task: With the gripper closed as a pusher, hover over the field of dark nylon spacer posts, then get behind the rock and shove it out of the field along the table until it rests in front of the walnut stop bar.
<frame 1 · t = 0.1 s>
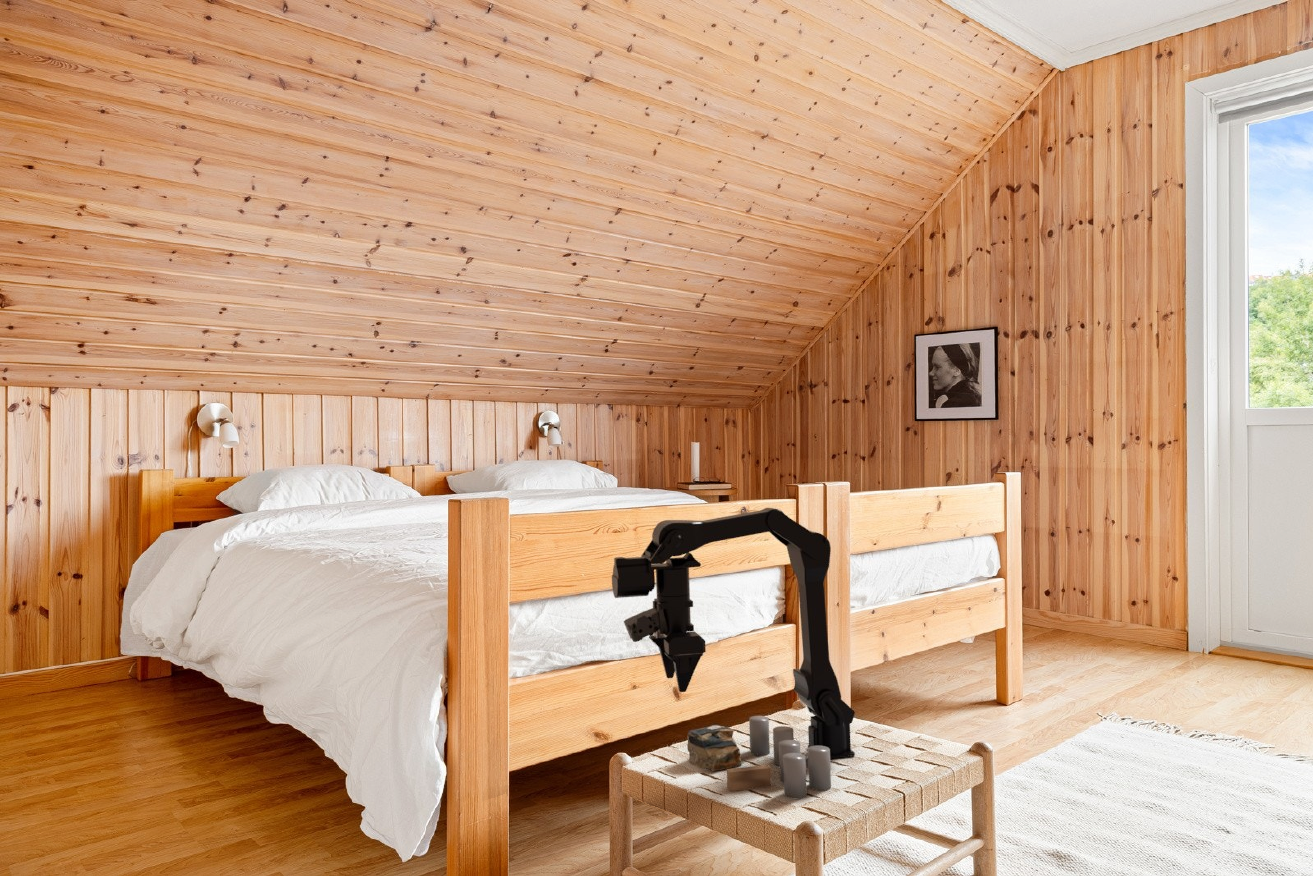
hand: (676, 684, 154), 15 cm above the table, fingers open, 9 cm apart
spacers: (831, 752, 160), on the table
stop bar: (749, 787, 145), on the table
rock: (715, 763, 157), on the table
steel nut: (816, 765, 155), on the table
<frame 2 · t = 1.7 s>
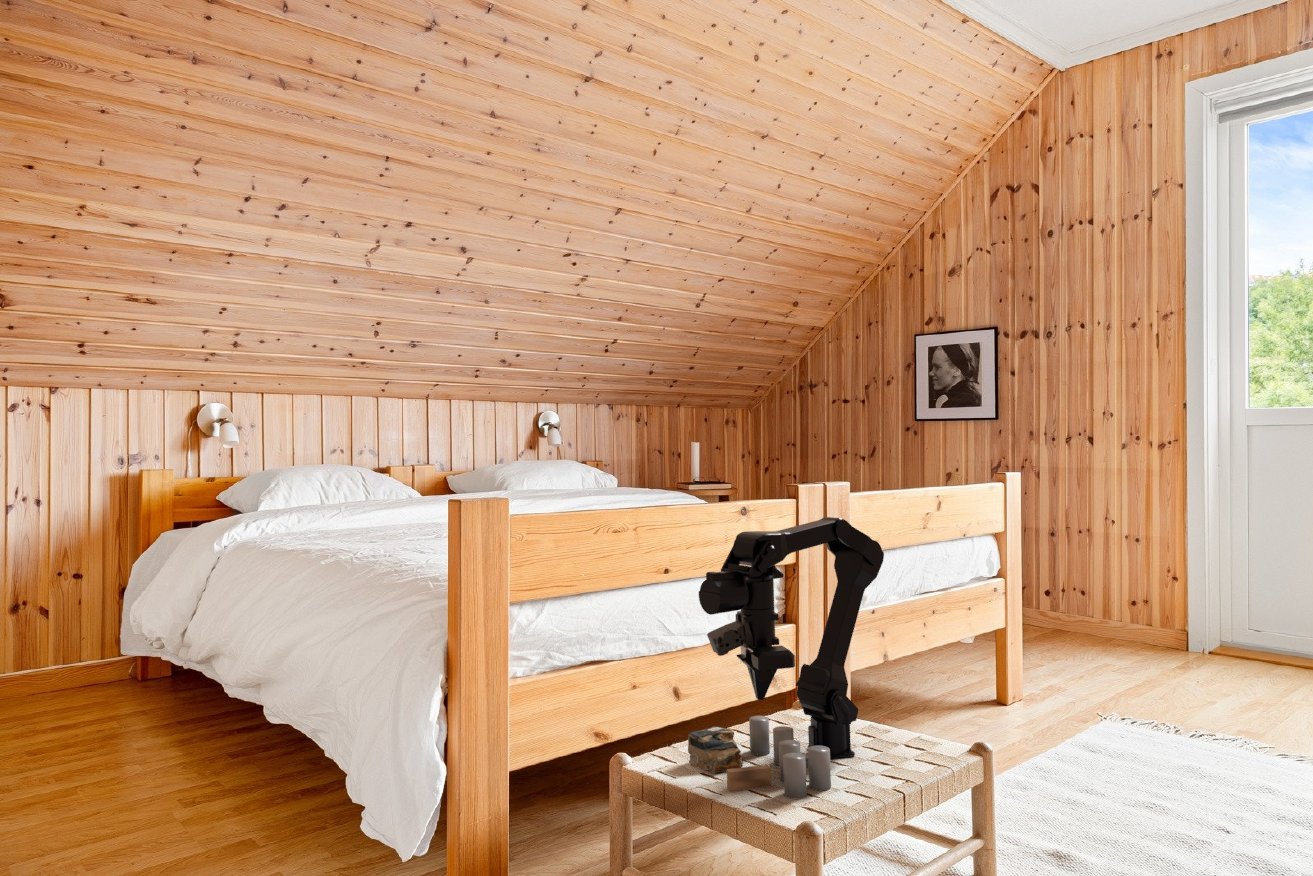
hand: (760, 699, 151), 13 cm above the table, fingers closed
nothing on the table moved.
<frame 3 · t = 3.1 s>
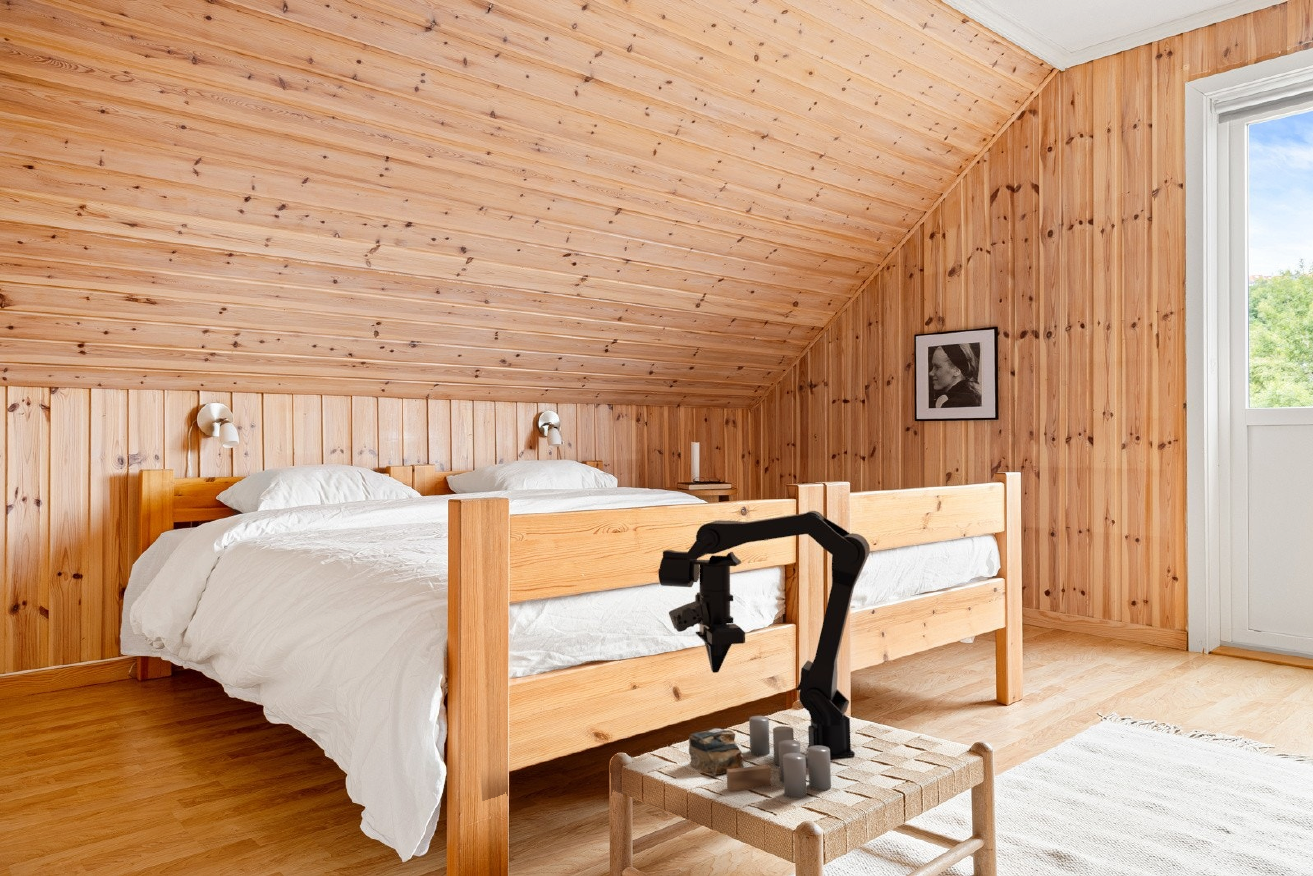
hand: (715, 672, 167), 13 cm above the table, fingers closed
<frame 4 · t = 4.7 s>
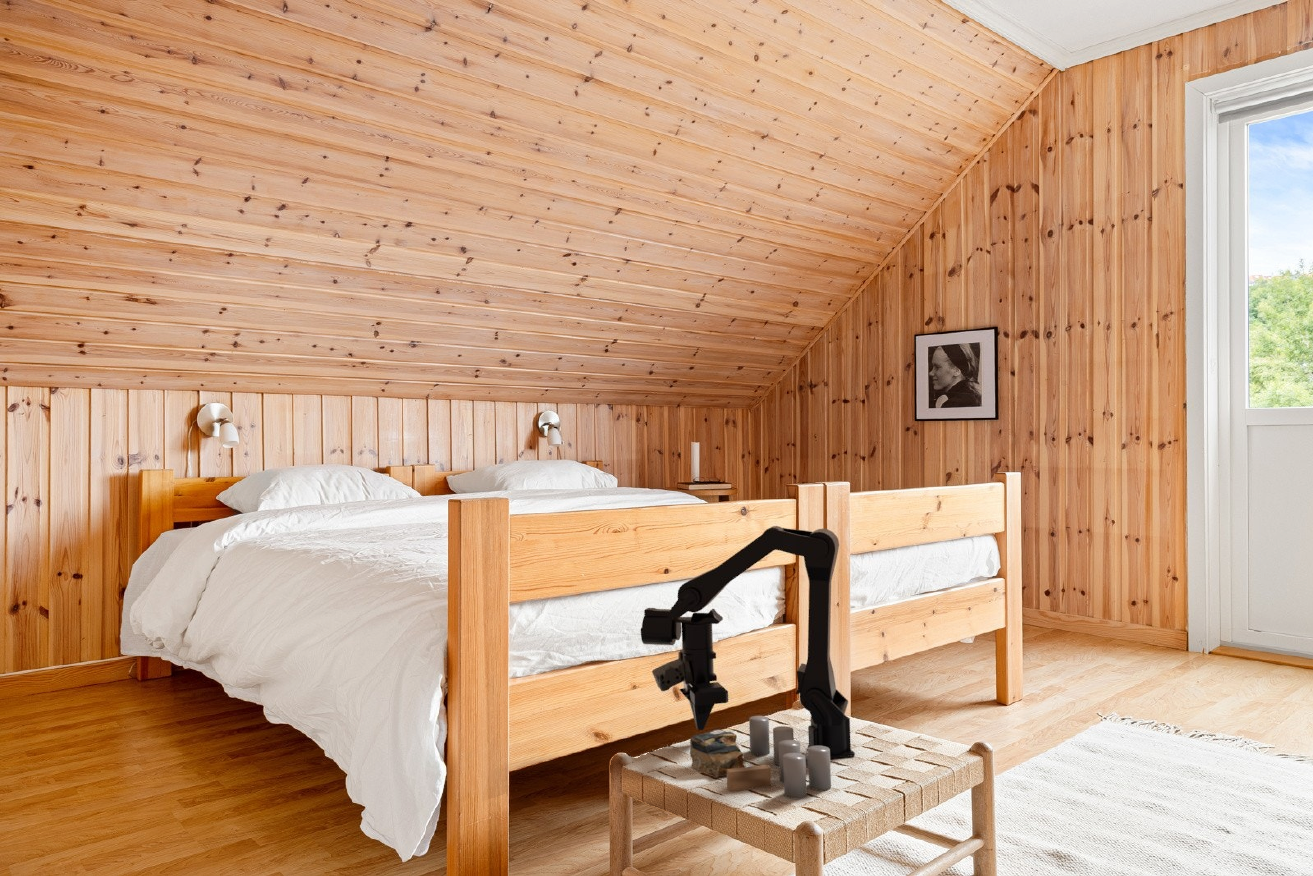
hand: (700, 729, 167), 2 cm above the table, fingers closed
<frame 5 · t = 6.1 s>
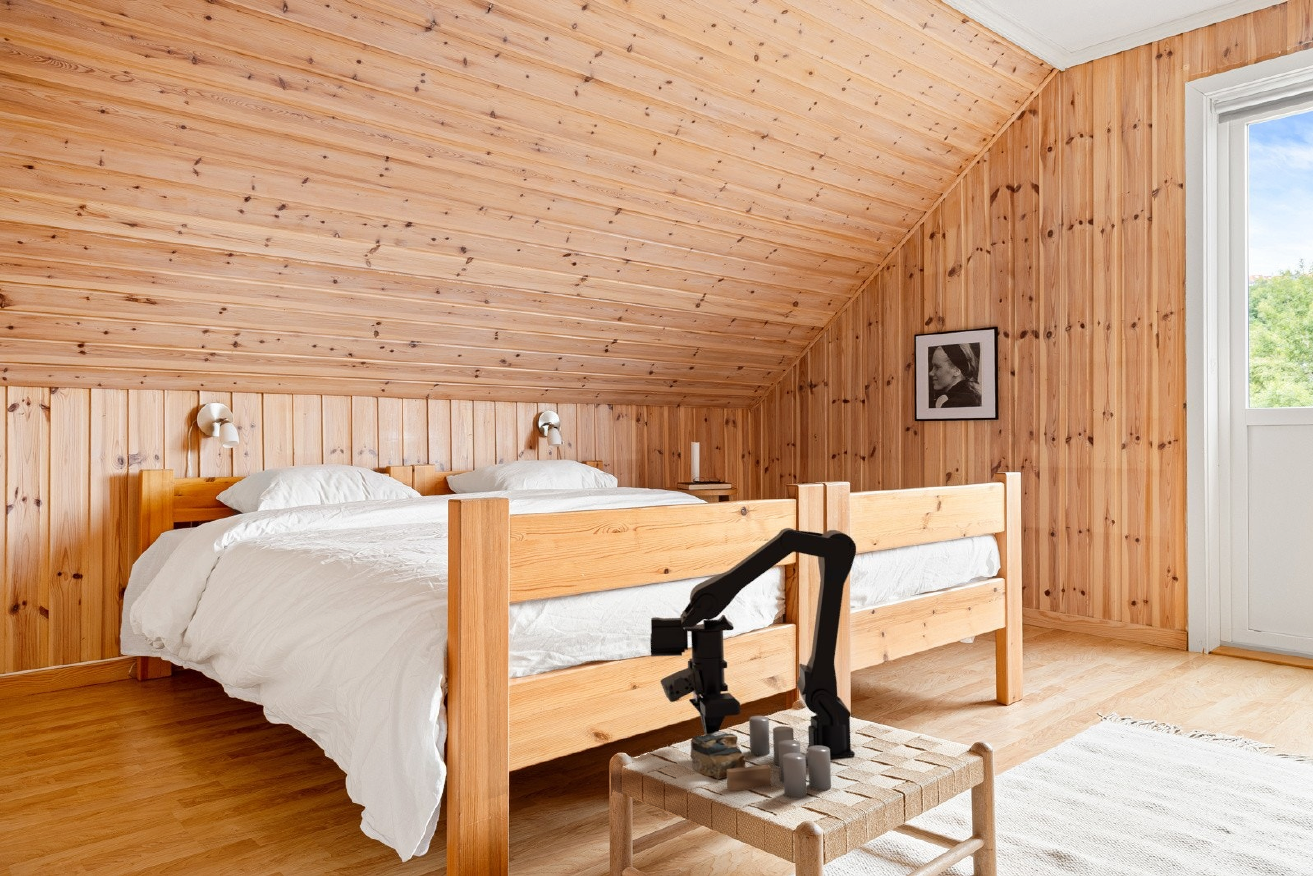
hand: (710, 742, 160), 2 cm above the table, fingers closed
rock: (719, 771, 154), on the table, touching gripper
everything else where it was.
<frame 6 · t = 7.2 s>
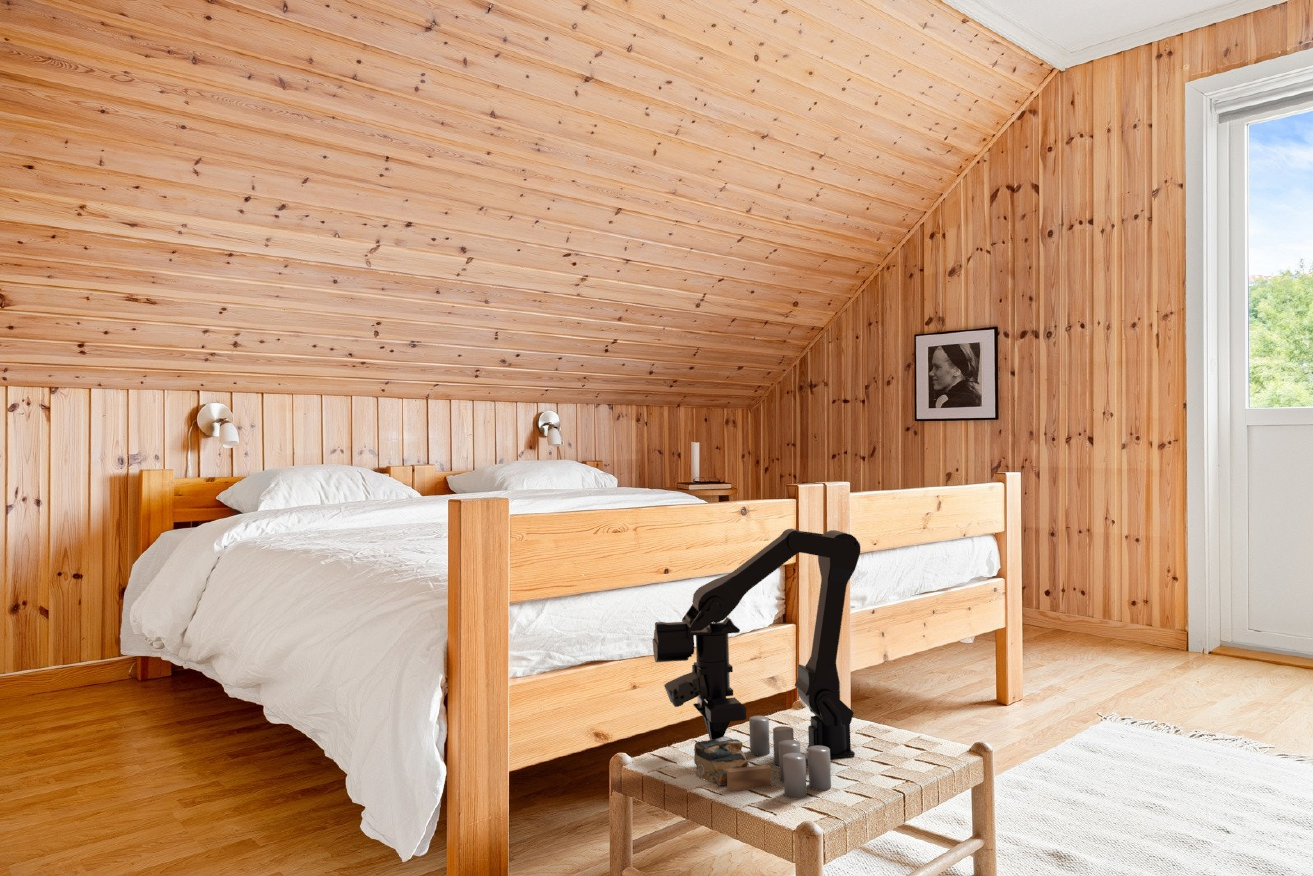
hand: (715, 747, 157), 3 cm above the table, fingers closed
rock: (723, 777, 151), on the table
everything else where it was.
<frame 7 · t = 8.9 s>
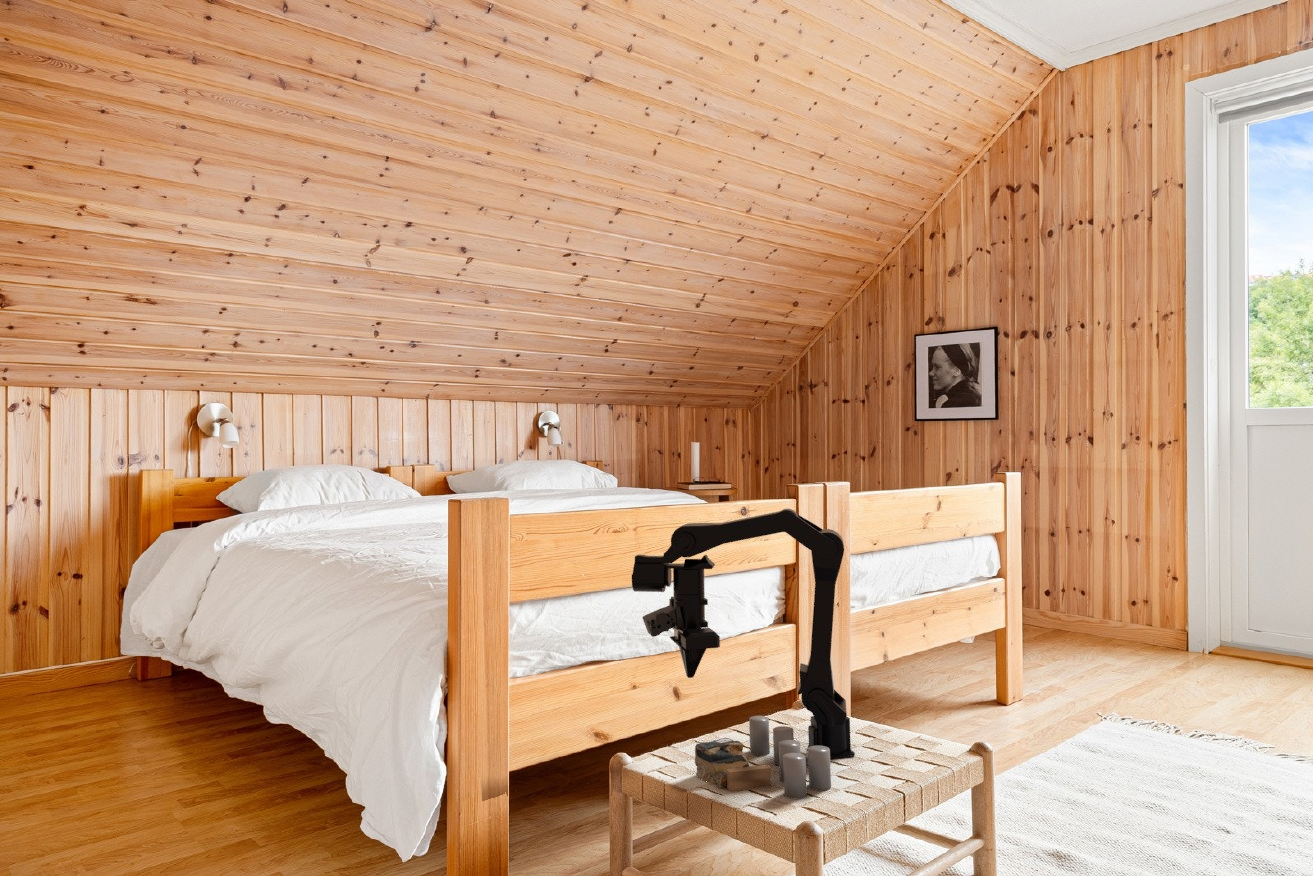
hand: (690, 677, 165), 13 cm above the table, fingers closed
nothing on the table moved.
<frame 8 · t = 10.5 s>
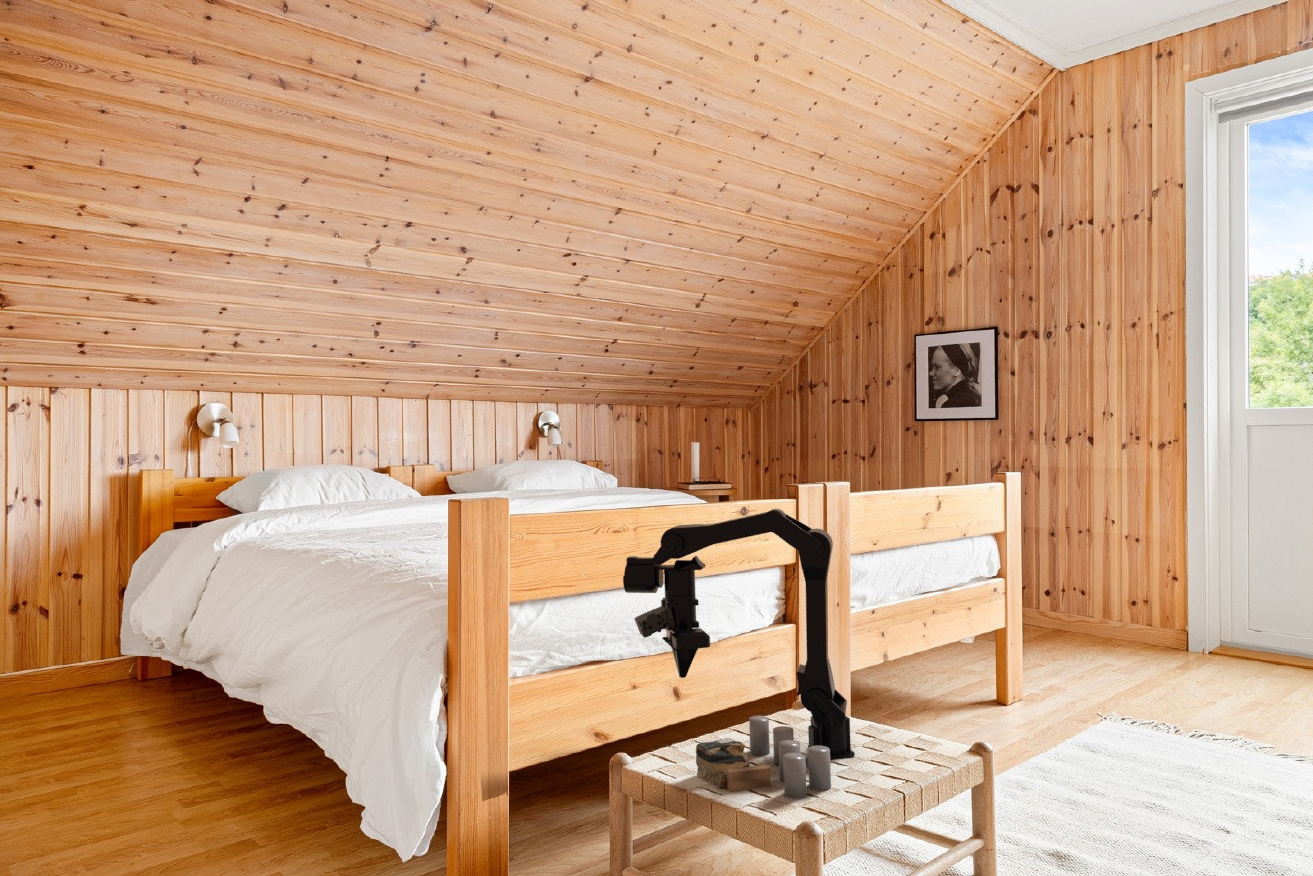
hand: (682, 677, 167), 12 cm above the table, fingers closed
nothing on the table moved.
at the end: rock inside the target area (1.8 cm from its centre), on the table; rock moved 7.6 cm from its start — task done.
